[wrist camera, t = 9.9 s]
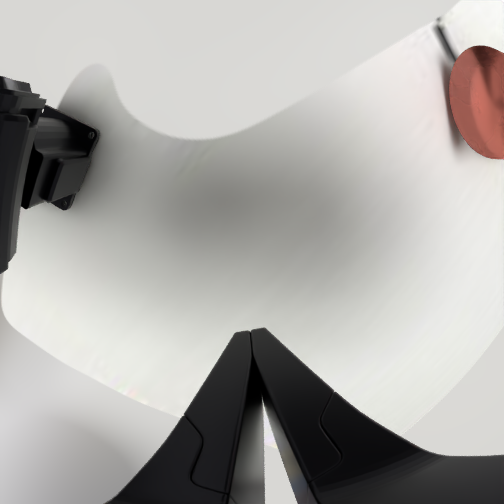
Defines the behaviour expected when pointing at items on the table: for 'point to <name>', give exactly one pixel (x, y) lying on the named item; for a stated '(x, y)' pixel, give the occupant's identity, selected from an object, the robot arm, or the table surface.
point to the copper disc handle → (479, 99)
